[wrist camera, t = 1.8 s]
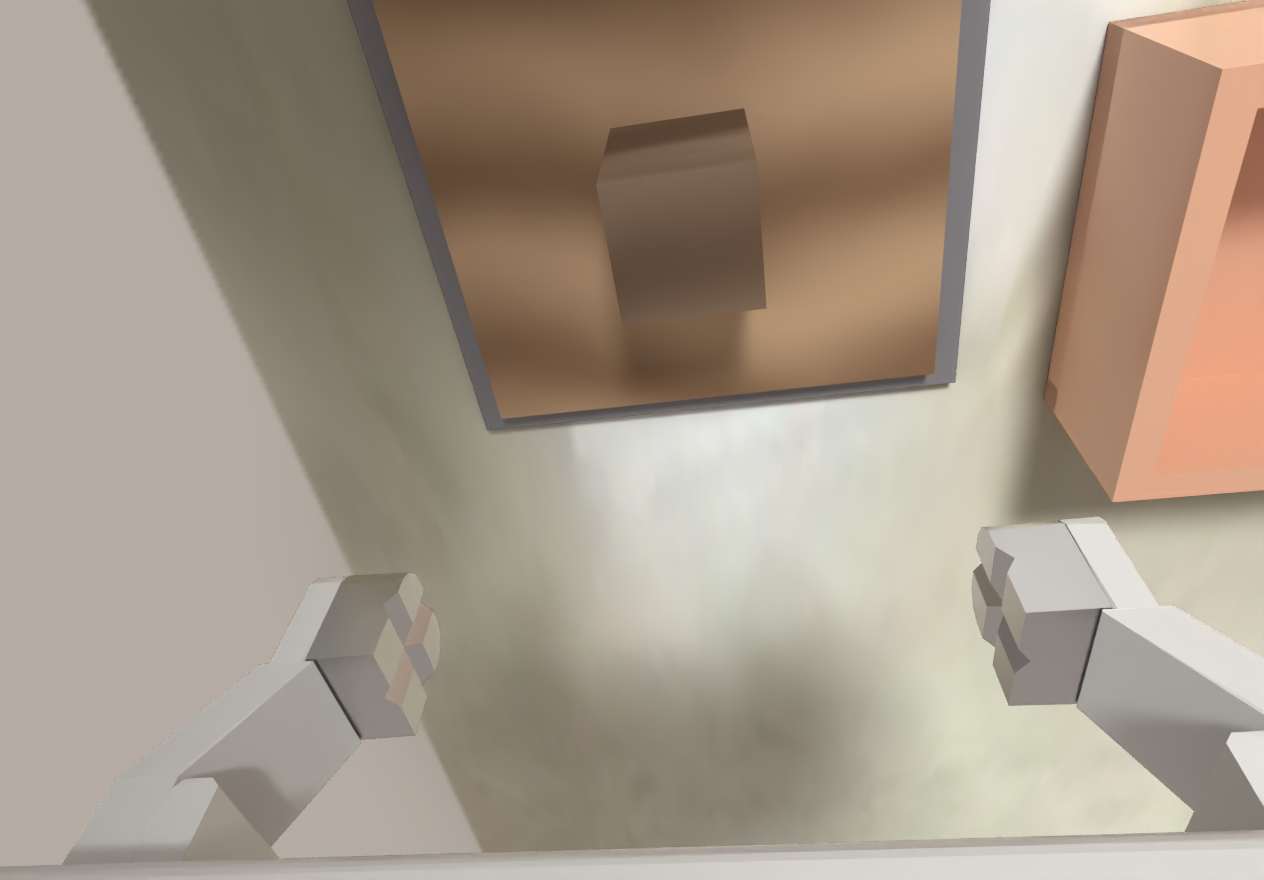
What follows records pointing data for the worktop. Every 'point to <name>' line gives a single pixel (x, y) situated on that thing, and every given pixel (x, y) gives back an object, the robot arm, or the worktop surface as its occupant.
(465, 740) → the worktop surface
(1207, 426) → the terracotta basin
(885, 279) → the walnut cover
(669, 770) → the worktop surface
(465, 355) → the rubber mat
